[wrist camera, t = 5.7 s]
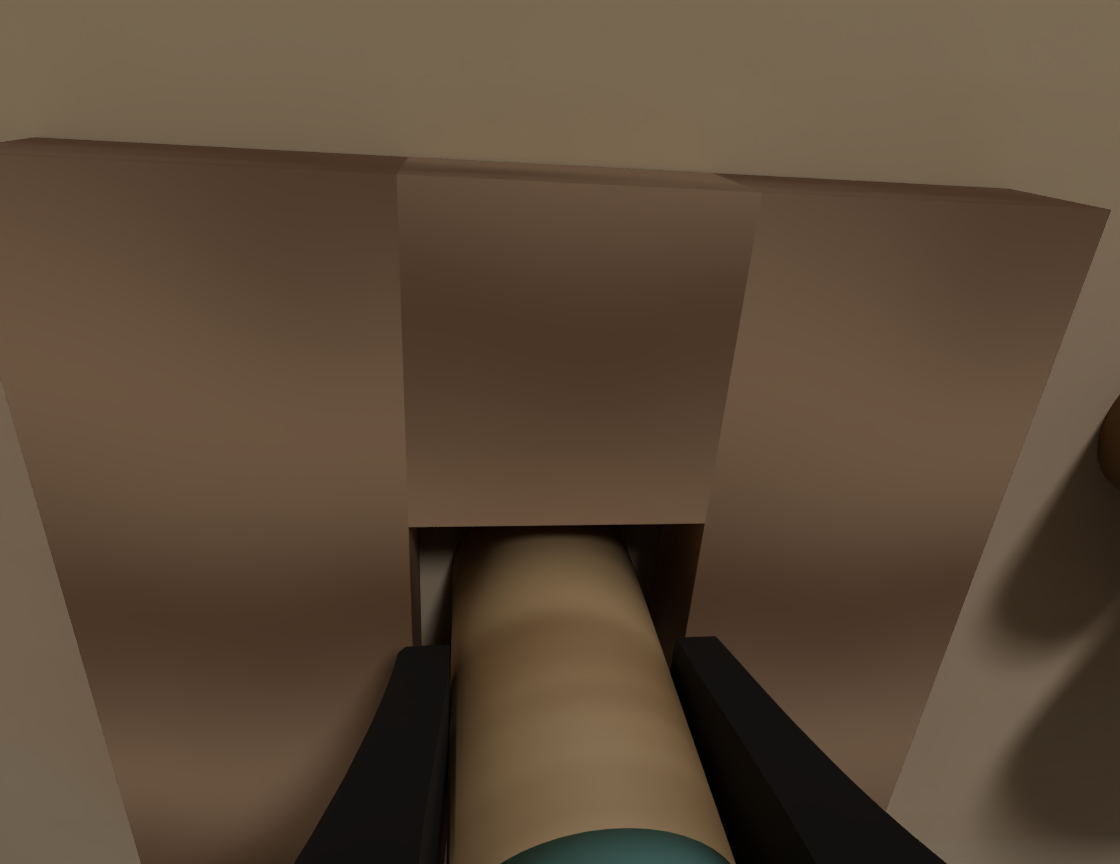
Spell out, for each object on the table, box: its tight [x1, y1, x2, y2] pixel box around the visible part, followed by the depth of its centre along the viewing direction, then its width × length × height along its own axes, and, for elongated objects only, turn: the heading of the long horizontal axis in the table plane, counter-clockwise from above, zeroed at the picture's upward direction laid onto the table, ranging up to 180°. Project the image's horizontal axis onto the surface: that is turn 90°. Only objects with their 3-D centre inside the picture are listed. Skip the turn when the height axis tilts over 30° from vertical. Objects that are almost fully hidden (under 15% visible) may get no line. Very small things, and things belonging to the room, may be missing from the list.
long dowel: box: [446, 525, 736, 864], centre depth 10 cm, size 3×3×7 cm
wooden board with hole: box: [0, 137, 1111, 864], centre depth 13 cm, size 14×14×2 cm
